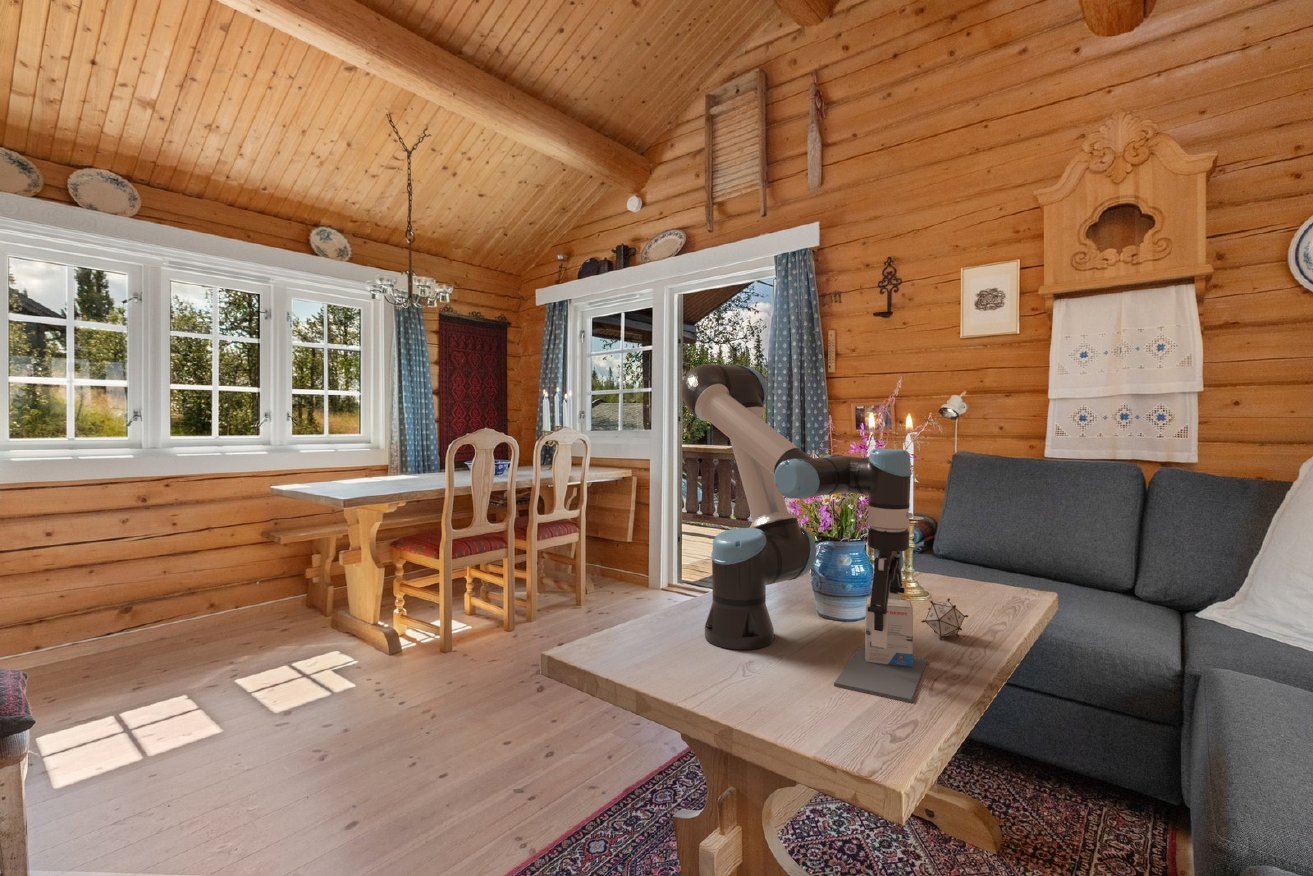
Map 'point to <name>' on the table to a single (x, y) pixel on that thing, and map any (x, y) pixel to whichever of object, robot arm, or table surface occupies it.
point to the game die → (944, 618)
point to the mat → (881, 677)
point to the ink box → (892, 635)
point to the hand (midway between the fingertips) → (886, 635)
